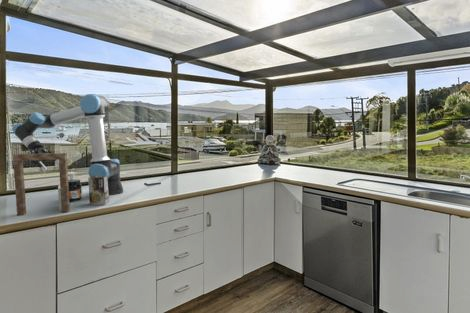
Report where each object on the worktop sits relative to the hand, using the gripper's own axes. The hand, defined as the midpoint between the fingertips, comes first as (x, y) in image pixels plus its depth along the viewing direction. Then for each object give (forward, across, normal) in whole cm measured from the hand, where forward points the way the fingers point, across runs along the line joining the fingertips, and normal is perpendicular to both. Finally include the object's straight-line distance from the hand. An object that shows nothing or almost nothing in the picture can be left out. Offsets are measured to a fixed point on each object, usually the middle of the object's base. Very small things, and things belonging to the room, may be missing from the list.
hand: (54, 169), depth 186 cm
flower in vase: (+12, -16, -15) cm, 25 cm away
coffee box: (+37, +5, +11) cm, 39 cm away
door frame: (+26, +28, 0) cm, 38 cm away
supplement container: (+21, 0, -5) cm, 22 cm away
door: (+27, +18, +2) cm, 32 cm away
